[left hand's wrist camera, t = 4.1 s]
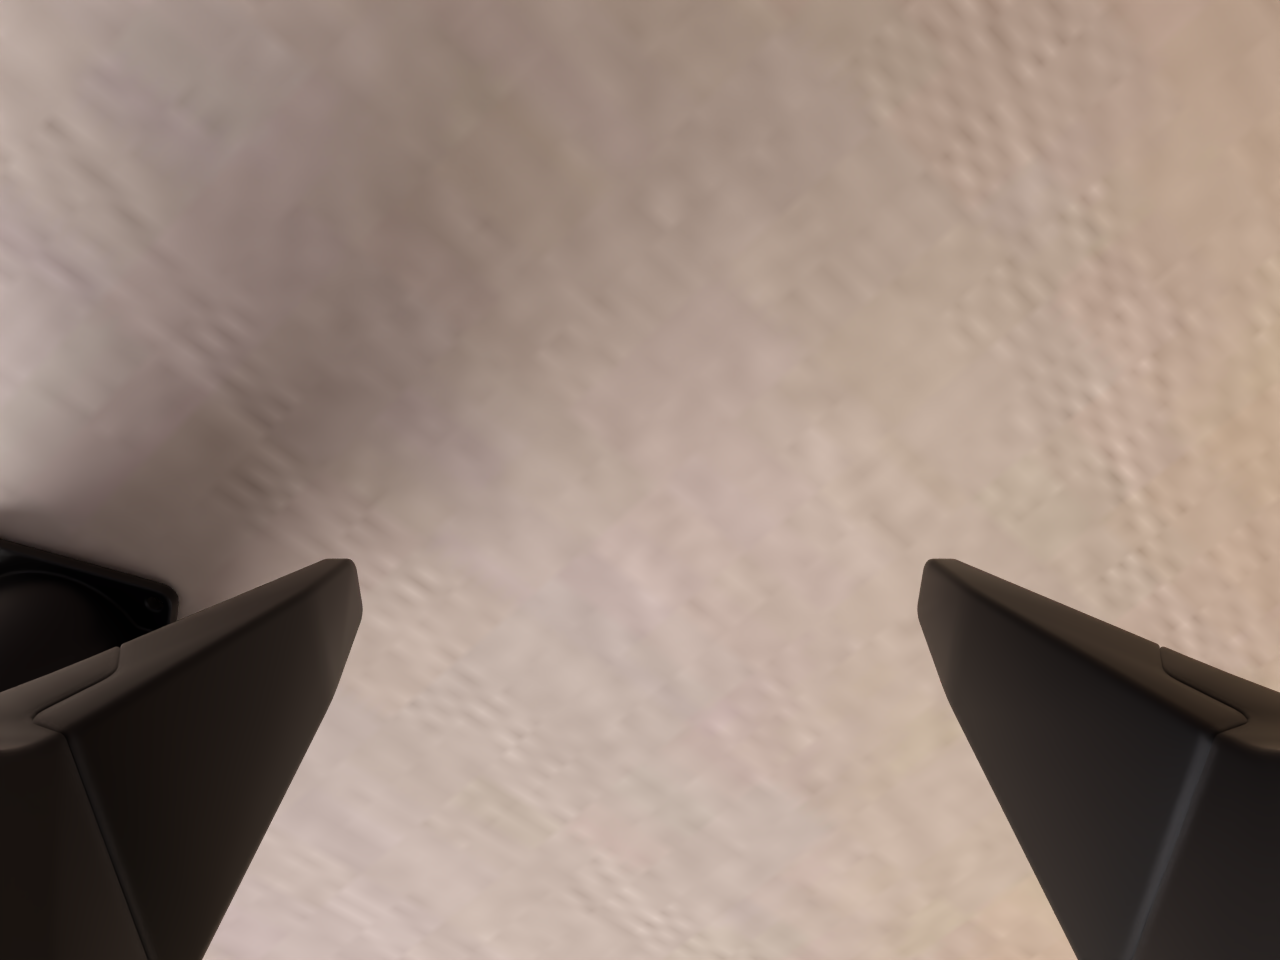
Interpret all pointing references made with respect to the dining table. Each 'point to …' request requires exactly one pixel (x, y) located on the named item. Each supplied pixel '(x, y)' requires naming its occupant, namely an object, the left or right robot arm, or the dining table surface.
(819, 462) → the dining table surface
